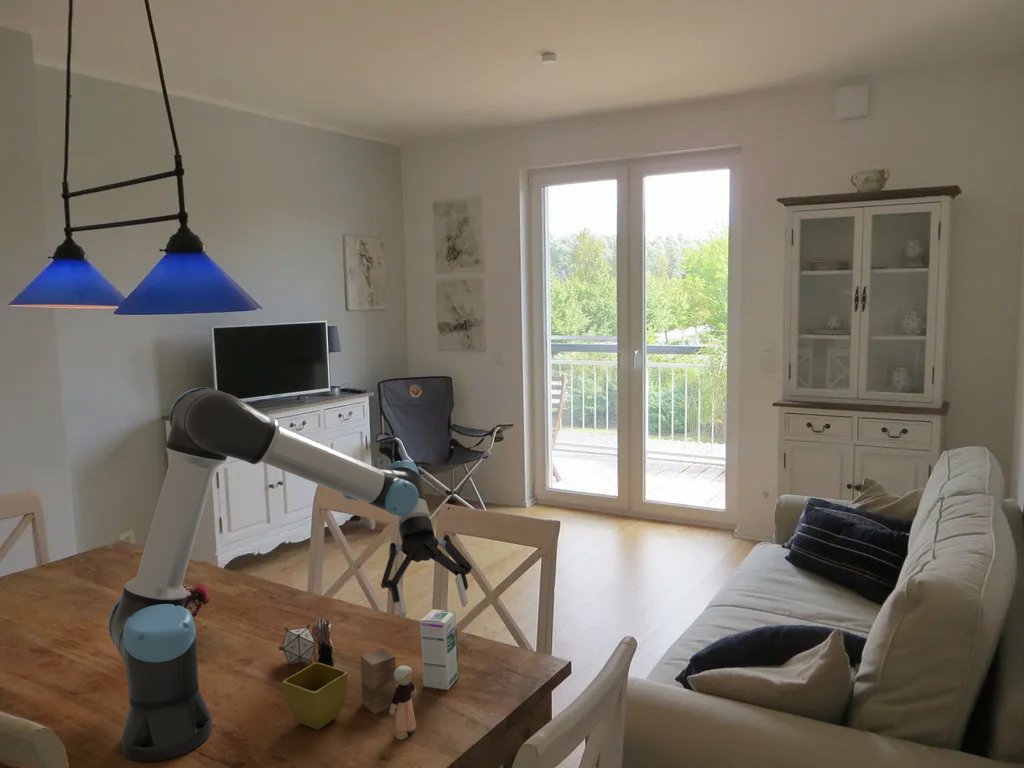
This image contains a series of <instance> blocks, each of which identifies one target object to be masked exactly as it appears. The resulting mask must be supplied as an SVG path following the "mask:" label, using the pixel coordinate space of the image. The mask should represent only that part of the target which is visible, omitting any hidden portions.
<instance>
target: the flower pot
mask: <svg viewBox="0 0 1024 768" xmlns="http://www.w3.org/2000/svg"><path fill="white" fill-rule="evenodd" d="M312 663H313V662H312ZM312 663H310V664H309V665H308V666H307V667H305V668H303V669H301V670H300V671H297V672H296V673H294V674H292V675H291V676H289V677H286V678H285V679H284V680H283V681H281V683H282V685H283V690H284V691H283V692H284V695H285V700H286V703H287V706H288V708H289V711H290V714H291V715H292V716H293V717H294V719H295V720H297V722H298V723H300V724H302V725H304V726H306V727H309V728H312V729H314V730H320V729H322V728H324V727H325V726H326V725H327V724H329V723H330V722H331V721H334V720H335V719H336V718H337V717H338V715H339V714H340V712H341V711H342V708H343V706H344V704H345V700H346V696H347V685H348V674H349V673H348V671H346V670H344V669H341V668H337V667H334V666H331V665H328V664H325V663H321V662H318V661H317V662H314V663H313V664H312Z"/></svg>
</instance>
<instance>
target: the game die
mask: <svg viewBox="0 0 1024 768" xmlns="http://www.w3.org/2000/svg"><path fill="white" fill-rule="evenodd" d="M310 627H311V624H310V623H309V624H307V626H306V627H301V628H296V629H289V628H288V627H284V630H285V631H286V633H285V637H284V639H283V642H282V645H281V646H279V647H278V650H279V651H283V655H284V656H285V658H286V660H287V662H288V664H287V668H290V666H291V665H293V664H299V663H305V662H309V663H310V664H313V661H312V660H311V659H312V657H313V655H314V650H315V648H314V641H313V638H314V636H313V635H312V633H311V630H310Z"/></svg>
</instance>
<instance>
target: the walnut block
mask: <svg viewBox="0 0 1024 768" xmlns="http://www.w3.org/2000/svg"><path fill="white" fill-rule="evenodd" d="M359 658H360V671H361V673H360V677H361V693H362V696H361V697H362V698H361V699H362V705H364V707H366V708H367V709H368V711H370V713H372V714H373V715H376V714H378V713H381V712H384V711H386V709H387V710H390V709H391V702H392V699H393V696H394V694H395V691H396V688H397V681H396V680H395V677H394V672H395V670H396V669H397V668H396V657H395V656H394V655H393V654H392V653H390V652H389V651H388V650H387V649H385V648H384V647H382V648H379V649H376V650H373V651H369V652H367V653H364V654H360V657H359ZM383 710H384V711H383Z"/></svg>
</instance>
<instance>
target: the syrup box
mask: <svg viewBox="0 0 1024 768" xmlns="http://www.w3.org/2000/svg"><path fill="white" fill-rule="evenodd" d="M419 628H420V629H419V630H420V646H421V664H422V665H421V666H422V679H423V686H424V687H427V688H430V687H431V688H430V689H437V688H438V690H444V689H445V690H446V691H449V689H450V688H451V687H452V686H453V685H454V683H455V682H456V681H457V680H458V678H459V677H460V673H459V672H460V671H459V668H460V667H459V653H458V652H459V650H458V649H459V648H458V634H457V633H458V632H457V615H456V612H455V611H452V610H445V609H431V610H430V611H429V612H428V613H427V614H426V615H425V616H424V617H422V618H421V619H420V620H419ZM445 690H444V691H445Z"/></svg>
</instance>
